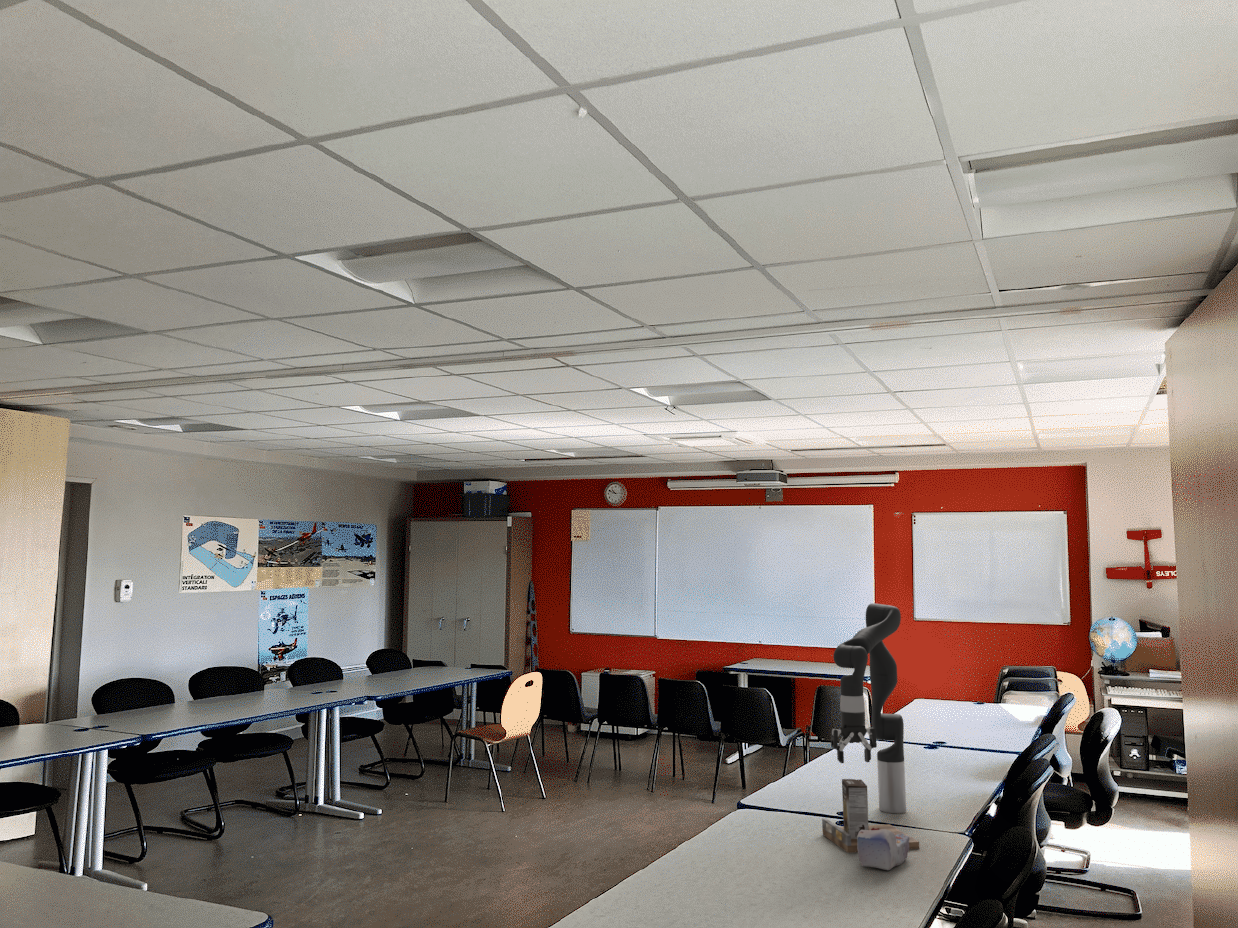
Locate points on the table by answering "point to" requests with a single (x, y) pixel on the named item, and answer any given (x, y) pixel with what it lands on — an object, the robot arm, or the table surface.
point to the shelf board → (850, 845)
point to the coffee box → (854, 806)
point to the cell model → (882, 848)
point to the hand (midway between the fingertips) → (854, 762)
